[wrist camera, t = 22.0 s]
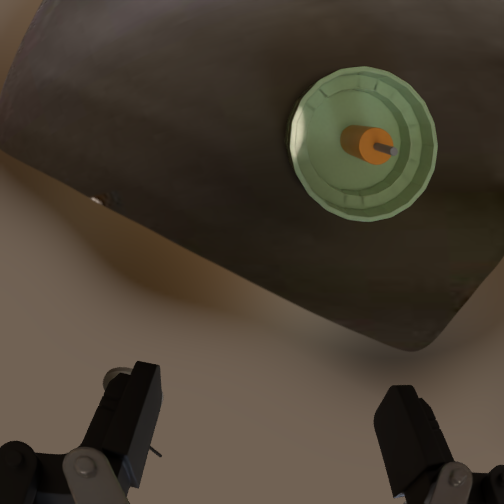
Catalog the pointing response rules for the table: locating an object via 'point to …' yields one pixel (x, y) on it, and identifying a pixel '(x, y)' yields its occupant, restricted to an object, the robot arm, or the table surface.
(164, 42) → the table surface
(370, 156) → the screwdriver
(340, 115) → the green round bowl
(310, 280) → the table surface
